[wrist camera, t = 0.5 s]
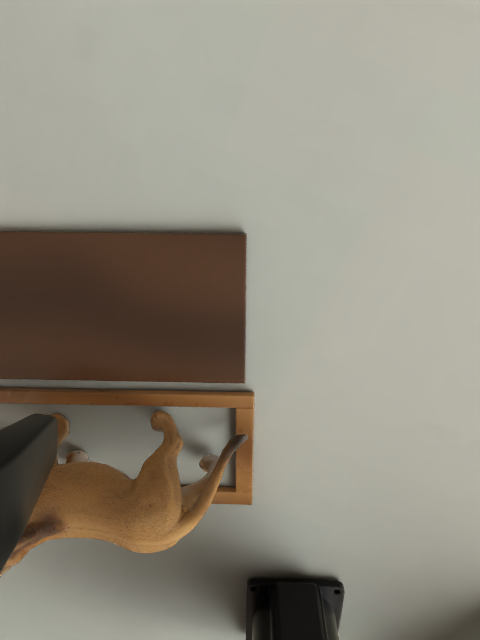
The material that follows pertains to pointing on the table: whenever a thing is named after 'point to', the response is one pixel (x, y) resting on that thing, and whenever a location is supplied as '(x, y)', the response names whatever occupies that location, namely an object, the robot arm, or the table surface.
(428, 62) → the table surface
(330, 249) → the table surface
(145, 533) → the lion figurine
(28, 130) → the table surface
